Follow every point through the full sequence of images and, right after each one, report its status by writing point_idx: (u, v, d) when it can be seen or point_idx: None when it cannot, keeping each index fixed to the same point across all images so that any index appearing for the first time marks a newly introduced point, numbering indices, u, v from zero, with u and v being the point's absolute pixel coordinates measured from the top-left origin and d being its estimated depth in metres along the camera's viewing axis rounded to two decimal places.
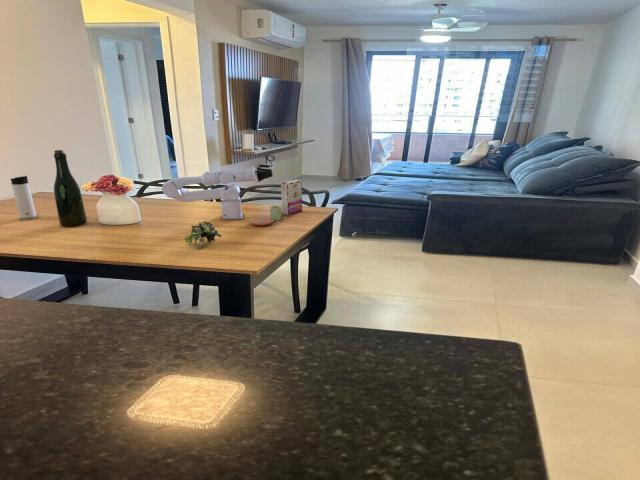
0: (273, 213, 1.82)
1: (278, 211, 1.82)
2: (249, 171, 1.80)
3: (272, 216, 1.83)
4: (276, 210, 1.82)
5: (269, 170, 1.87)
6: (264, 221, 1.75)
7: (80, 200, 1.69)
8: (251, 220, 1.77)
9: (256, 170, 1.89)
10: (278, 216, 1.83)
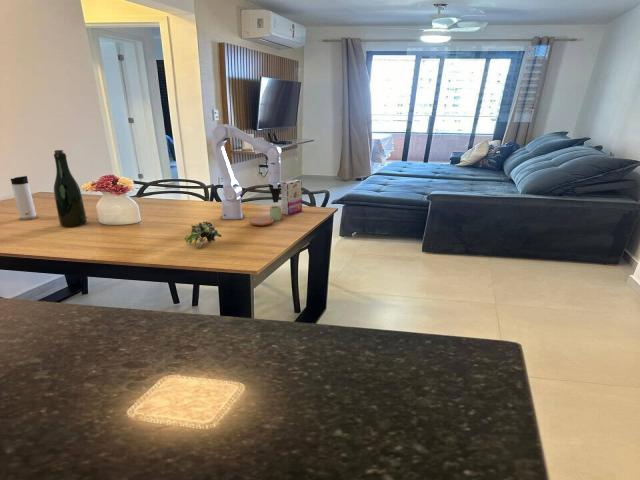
0: (273, 213, 1.82)
1: (278, 211, 1.82)
2: (279, 179, 1.78)
3: (272, 216, 1.83)
4: (276, 210, 1.82)
5: None
6: (264, 221, 1.75)
7: (80, 200, 1.69)
8: (251, 220, 1.77)
9: None
10: (278, 216, 1.83)
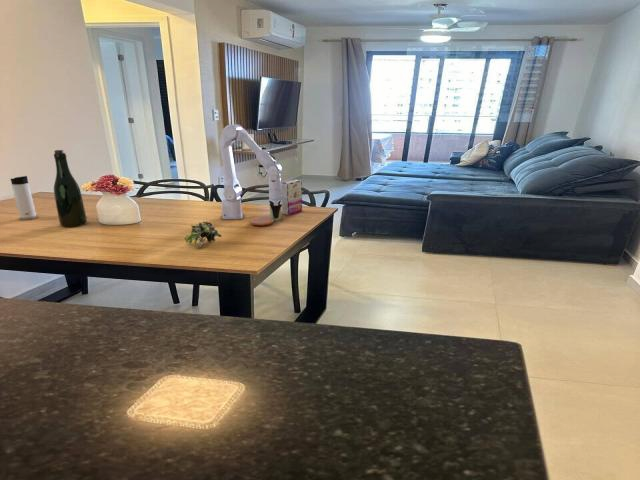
0: None
1: None
2: (279, 196, 1.80)
3: (272, 216, 1.83)
4: None
5: None
6: (264, 221, 1.75)
7: (80, 200, 1.69)
8: (251, 220, 1.77)
9: None
10: None
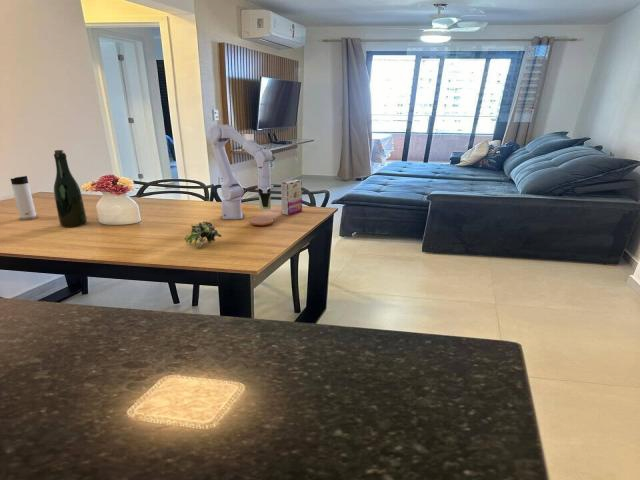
0: None
1: None
2: (268, 183, 1.73)
3: (261, 205, 1.75)
4: None
5: None
6: (264, 221, 1.75)
7: (80, 200, 1.69)
8: (251, 220, 1.77)
9: None
10: (268, 205, 1.76)
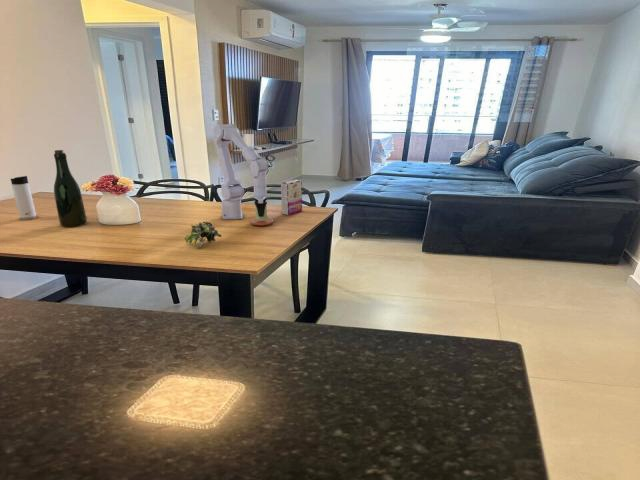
0: None
1: None
2: (264, 193, 1.72)
3: (257, 214, 1.74)
4: None
5: None
6: (264, 221, 1.75)
7: (80, 200, 1.69)
8: (251, 220, 1.77)
9: None
10: (264, 214, 1.75)
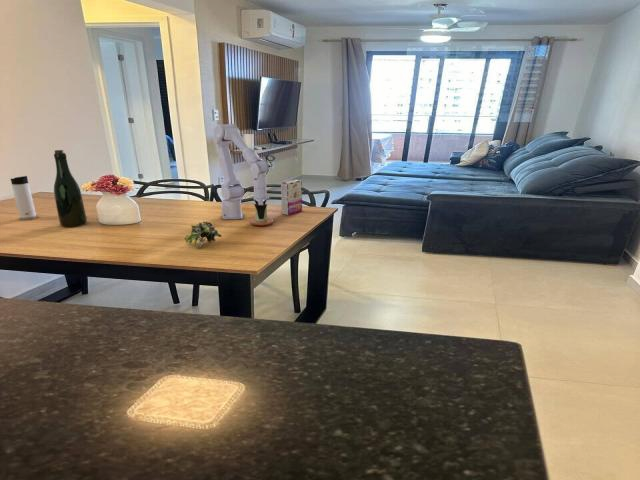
0: None
1: None
2: (264, 195, 1.72)
3: (257, 217, 1.75)
4: None
5: None
6: (264, 221, 1.75)
7: (80, 200, 1.69)
8: (251, 220, 1.77)
9: None
10: (264, 217, 1.75)
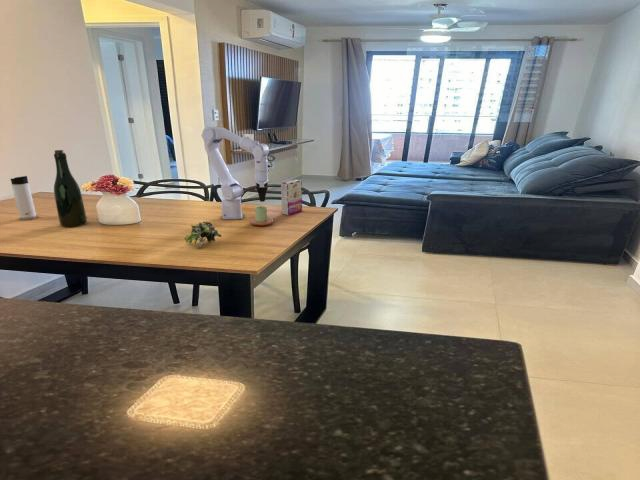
0: (258, 214, 1.74)
1: (264, 211, 1.74)
2: (266, 177, 1.75)
3: (257, 217, 1.75)
4: (261, 210, 1.74)
5: None
6: (264, 221, 1.75)
7: (80, 200, 1.69)
8: (251, 220, 1.77)
9: None
10: (264, 217, 1.75)
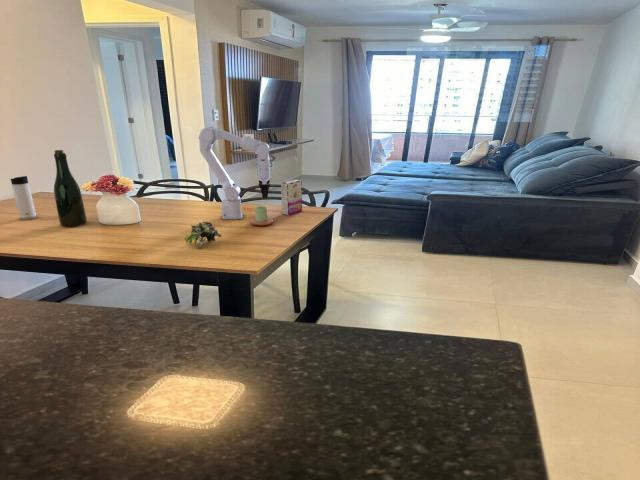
0: (258, 214, 1.74)
1: (264, 211, 1.74)
2: (268, 175, 1.81)
3: (257, 217, 1.75)
4: (261, 210, 1.74)
5: None
6: (264, 221, 1.75)
7: (80, 200, 1.69)
8: (251, 220, 1.77)
9: None
10: (264, 217, 1.75)
